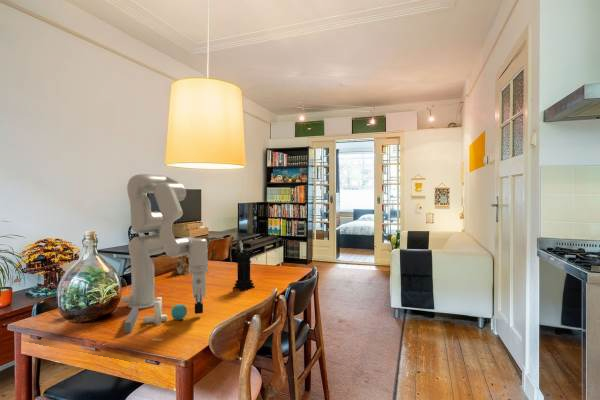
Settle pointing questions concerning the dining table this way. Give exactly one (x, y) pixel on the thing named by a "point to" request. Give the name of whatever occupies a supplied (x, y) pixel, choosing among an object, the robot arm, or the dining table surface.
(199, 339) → the dining table surface
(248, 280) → the chess piece
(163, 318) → the front pin
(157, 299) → the back pin left
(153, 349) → the dining table surface
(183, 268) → the stuffed squirrel
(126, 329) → the wall
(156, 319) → the back pin right
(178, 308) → the ball
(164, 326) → the dining table surface
